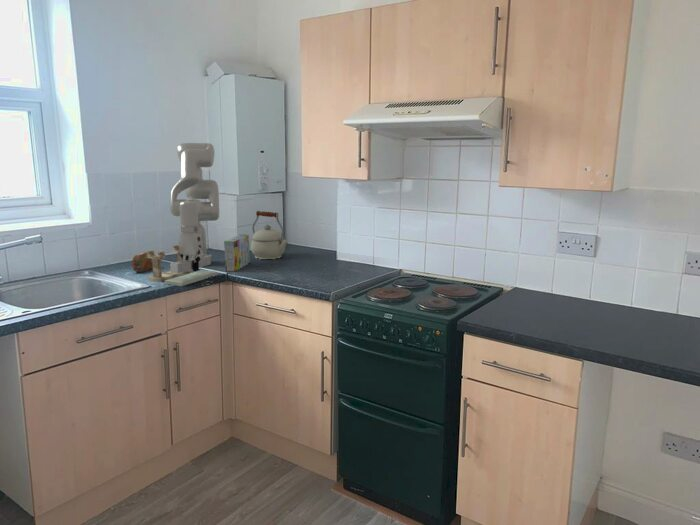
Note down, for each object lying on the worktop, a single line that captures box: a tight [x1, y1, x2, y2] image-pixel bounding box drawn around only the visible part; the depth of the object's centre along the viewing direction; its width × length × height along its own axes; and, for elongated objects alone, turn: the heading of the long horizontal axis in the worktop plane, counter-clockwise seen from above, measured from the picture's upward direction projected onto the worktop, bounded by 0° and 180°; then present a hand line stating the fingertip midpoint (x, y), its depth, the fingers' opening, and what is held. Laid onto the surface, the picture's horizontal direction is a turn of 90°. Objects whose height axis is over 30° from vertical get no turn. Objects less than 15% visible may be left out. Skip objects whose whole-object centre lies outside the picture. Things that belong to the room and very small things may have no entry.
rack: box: [146, 244, 192, 283], centre depth 247 cm, size 20×7×13 cm, turn 156°
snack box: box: [223, 233, 251, 272], centre depth 269 cm, size 21×6×15 cm, turn 171°
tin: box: [131, 251, 153, 273], centre depth 260 cm, size 15×3×8 cm, turn 168°
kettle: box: [250, 210, 289, 260], centre depth 292 cm, size 25×18×25 cm
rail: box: [169, 255, 212, 273], centre depth 242 cm, size 22×4×4 cm, turn 156°
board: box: [164, 269, 218, 287], centre depth 243 cm, size 24×9×2 cm, turn 156°
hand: (191, 269), depth 242 cm, fingers closed on rail, 4 cm apart
